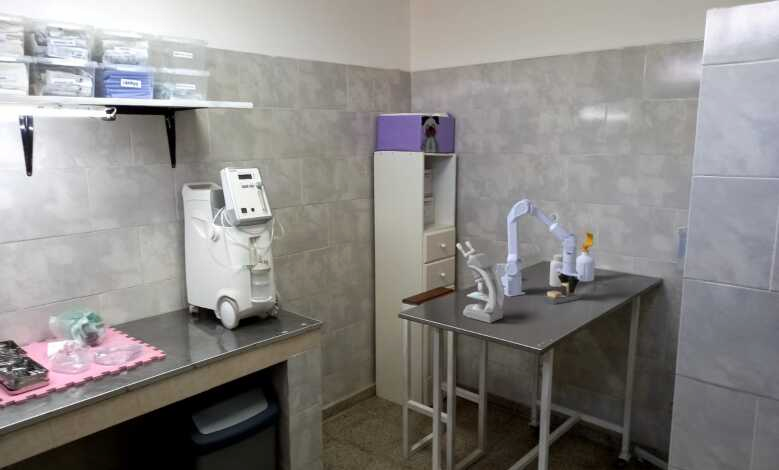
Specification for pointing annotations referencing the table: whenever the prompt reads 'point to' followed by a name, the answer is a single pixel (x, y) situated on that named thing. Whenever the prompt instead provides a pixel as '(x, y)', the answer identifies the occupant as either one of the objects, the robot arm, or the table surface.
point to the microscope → (492, 301)
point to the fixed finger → (554, 294)
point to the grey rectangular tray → (562, 298)
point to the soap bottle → (586, 261)
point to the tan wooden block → (566, 290)
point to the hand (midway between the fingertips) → (568, 291)
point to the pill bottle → (553, 266)
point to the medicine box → (501, 270)
